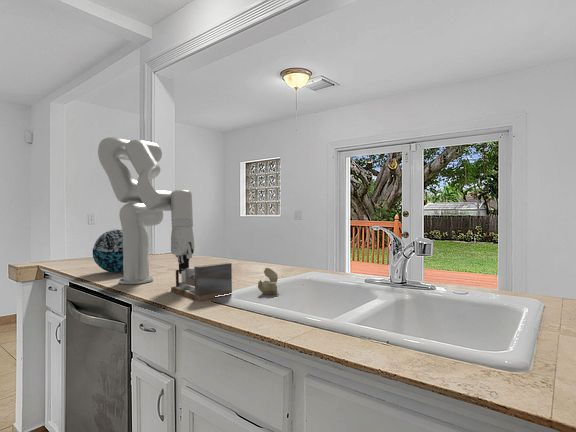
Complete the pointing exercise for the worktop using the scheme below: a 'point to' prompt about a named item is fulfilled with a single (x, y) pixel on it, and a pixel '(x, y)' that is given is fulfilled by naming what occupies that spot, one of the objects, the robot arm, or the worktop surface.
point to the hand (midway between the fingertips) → (184, 273)
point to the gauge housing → (208, 282)
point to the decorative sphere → (109, 251)
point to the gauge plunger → (186, 276)
